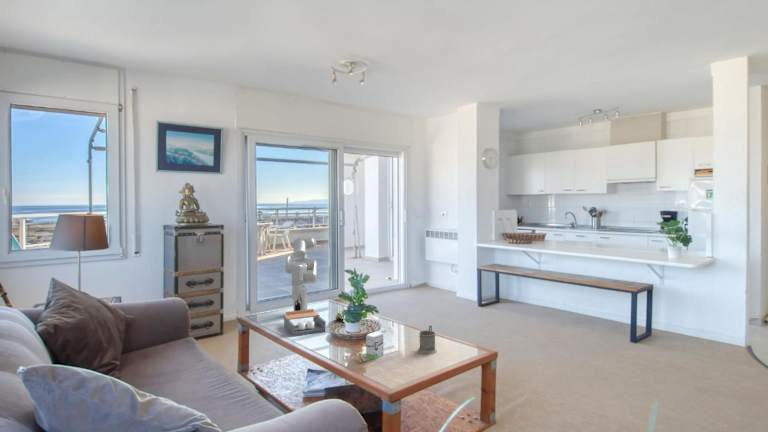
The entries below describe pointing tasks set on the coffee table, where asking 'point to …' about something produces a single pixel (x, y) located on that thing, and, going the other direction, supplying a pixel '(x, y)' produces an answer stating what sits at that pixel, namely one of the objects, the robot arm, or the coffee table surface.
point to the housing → (306, 327)
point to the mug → (427, 342)
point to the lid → (301, 314)
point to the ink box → (374, 345)
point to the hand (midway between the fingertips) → (297, 310)
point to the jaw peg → (301, 326)
